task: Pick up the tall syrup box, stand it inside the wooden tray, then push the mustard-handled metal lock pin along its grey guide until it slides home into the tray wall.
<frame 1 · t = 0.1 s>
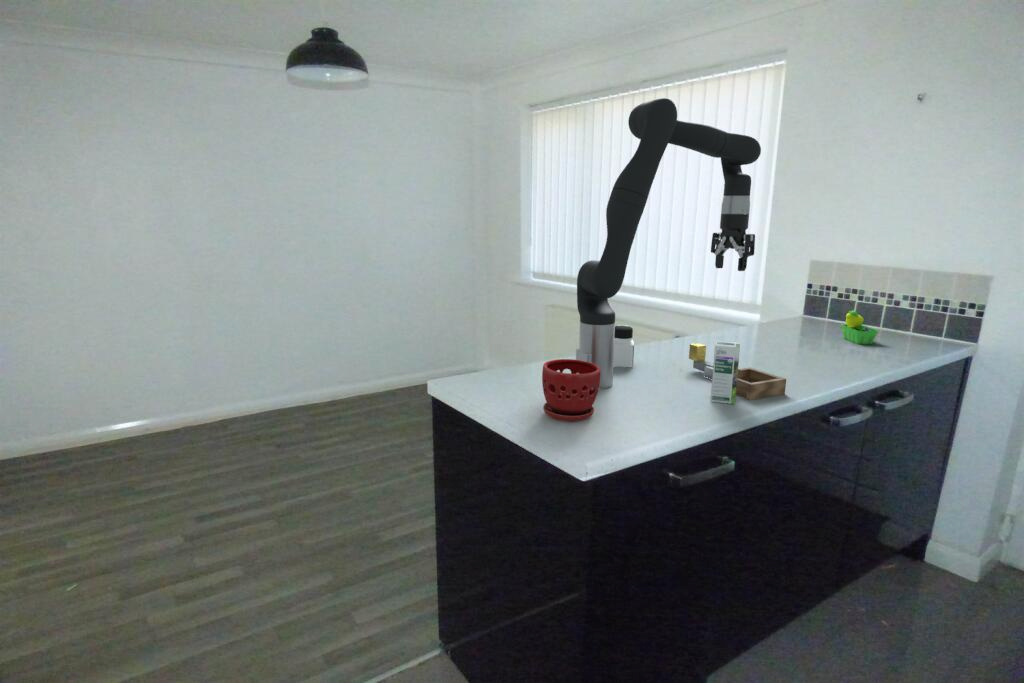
hand: (730, 269, 161), 29 cm above the counter, tool pointing down, fingers open, 8 cm apart
lock pin: (706, 359, 159), point 4 cm above the counter, slide at 6.0 cm
wooden tray: (749, 390, 145), on the counter
medicine bottle: (621, 365, 170), on the counter
fruit basket: (855, 341, 200), on the counter
syrup box: (722, 400, 138), on the counter
pin guide: (721, 380, 154), on the counter
plant pot: (570, 416, 127), on the counter
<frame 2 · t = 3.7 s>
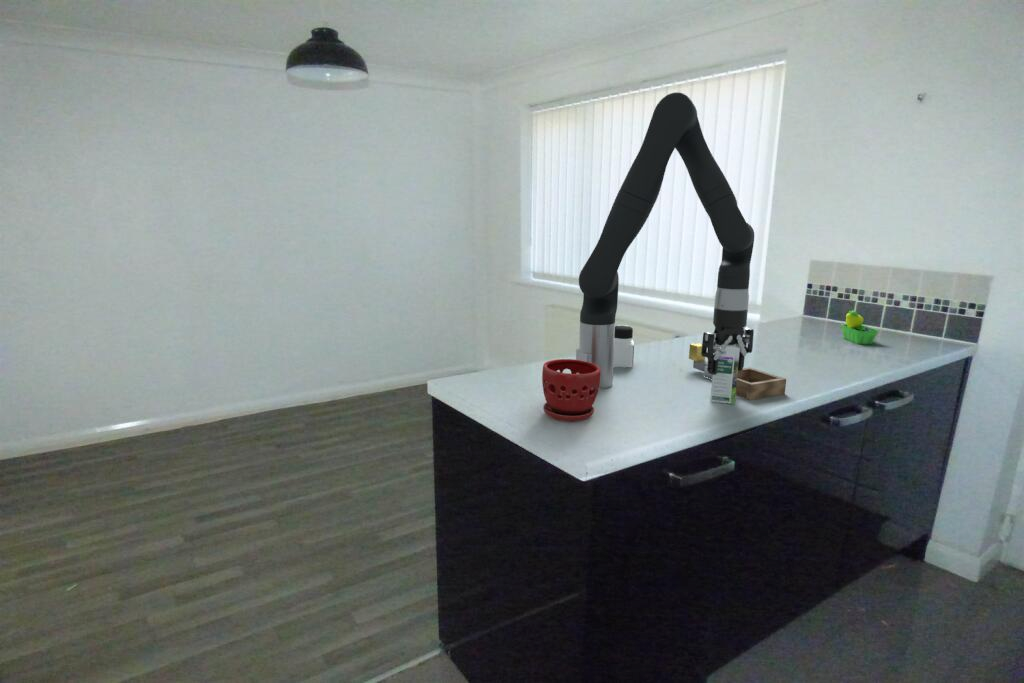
hand: (725, 371, 136), 7 cm above the counter, tool pointing down, fingers closed on syrup box, 8 cm apart
syrup box: (722, 400, 138), on the counter, touching gripper
everything else where it was.
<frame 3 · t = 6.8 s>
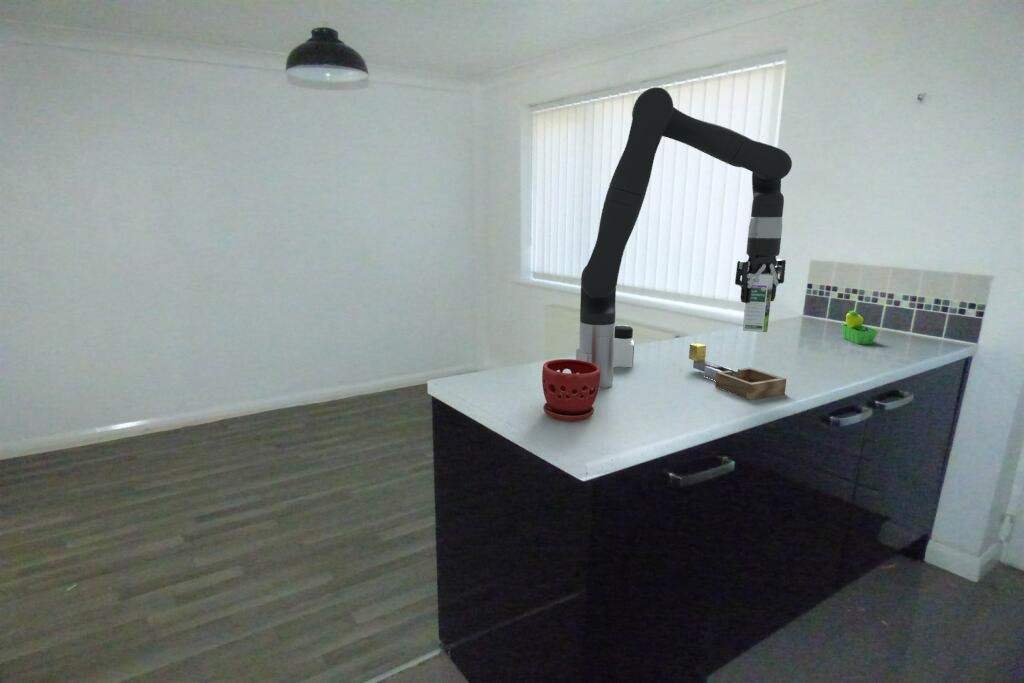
hand: (757, 301, 140), 23 cm above the counter, tool pointing down, fingers closed on syrup box, 8 cm apart
syrup box: (754, 330, 141), point 16 cm above the counter, touching gripper
everything else where it was.
when the fingers open (8 cm above the counter, at t = 10.2 s): syrup box drops 1 cm, resting in wooden tray.
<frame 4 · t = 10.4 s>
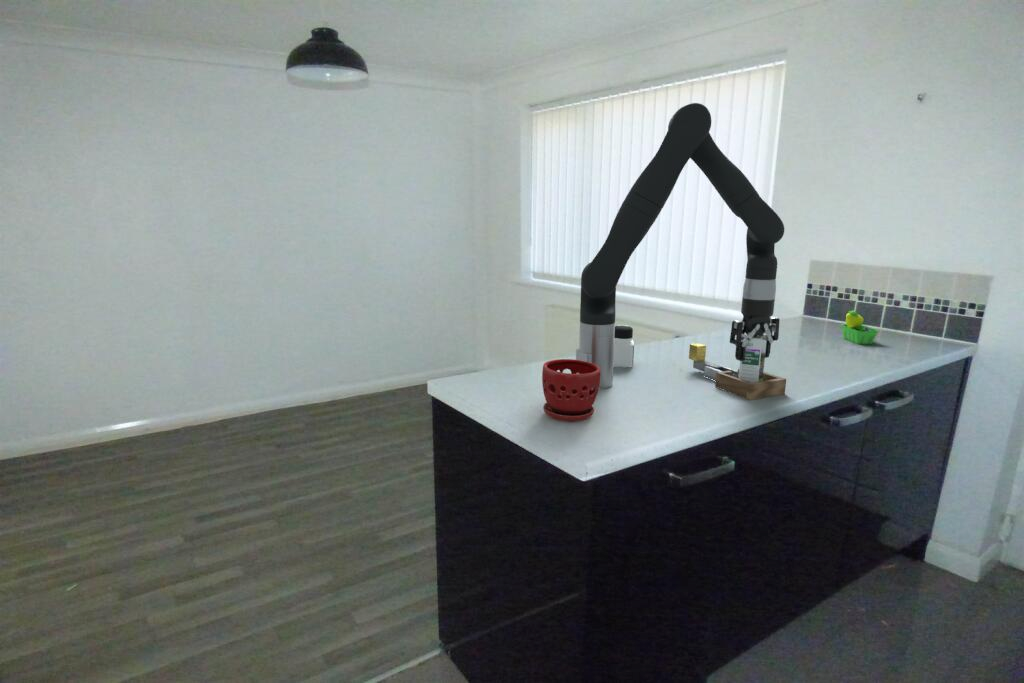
hand: (752, 358, 143), 9 cm above the counter, tool pointing down, fingers open, 8 cm apart
syrup box: (748, 391, 145), resting in wooden tray
everything else where it was.
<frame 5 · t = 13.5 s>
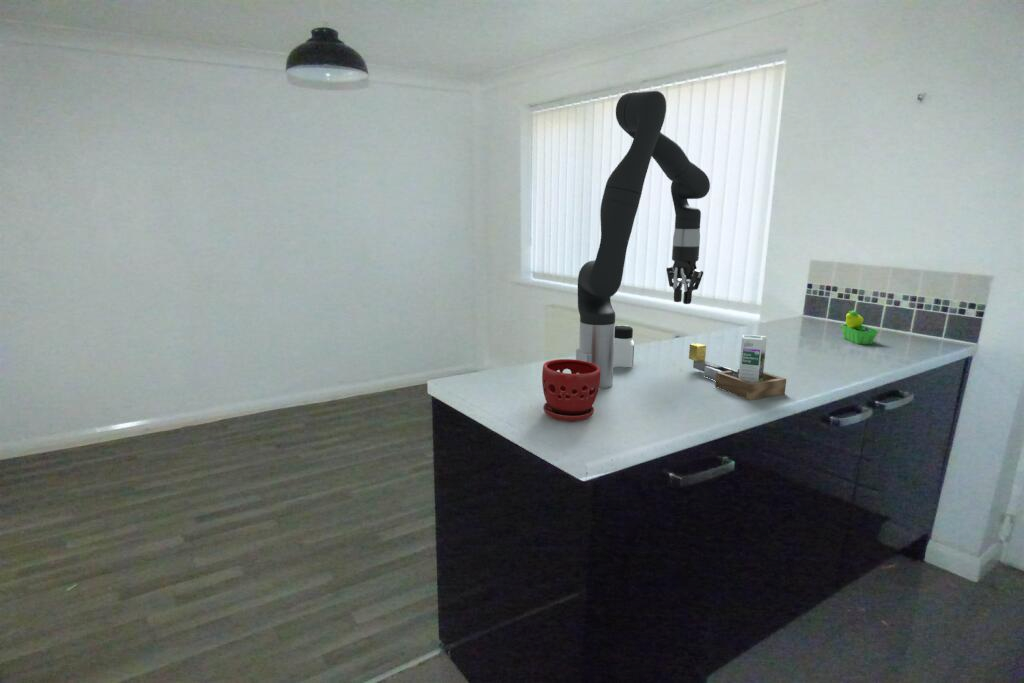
hand: (682, 302, 166), 19 cm above the counter, tool pointing down, fingers open, 3 cm apart
nothing on the counter moved.
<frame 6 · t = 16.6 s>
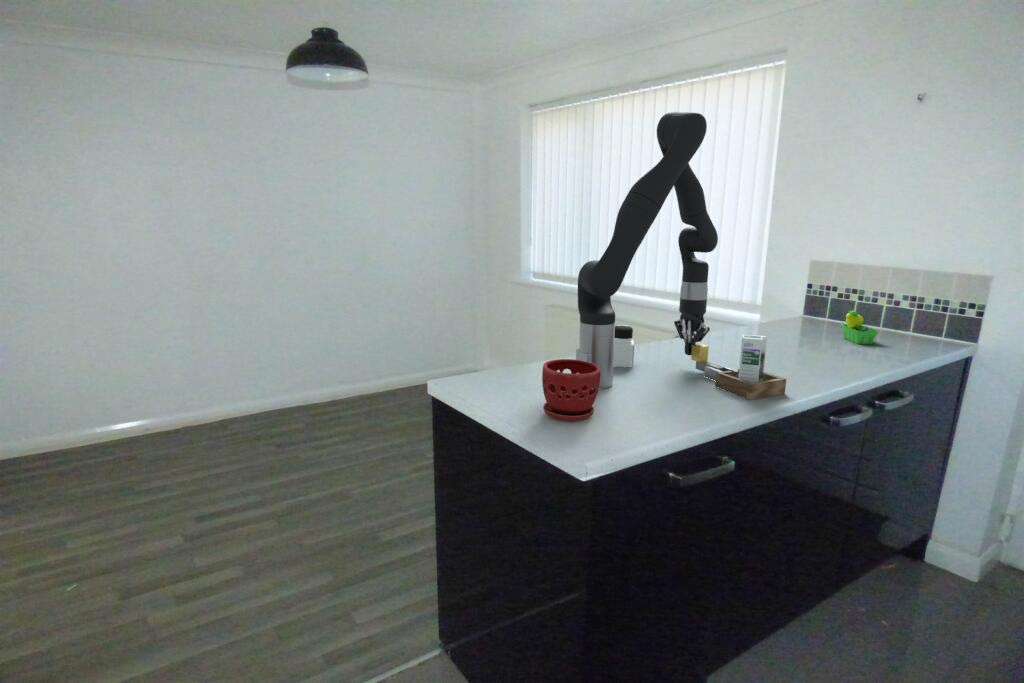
hand: (689, 354, 165), 4 cm above the counter, tool pointing down, fingers closed
lock pin: (708, 359, 158), point 4 cm above the counter, slide at 5.0 cm, touching gripper
everything else where it was.
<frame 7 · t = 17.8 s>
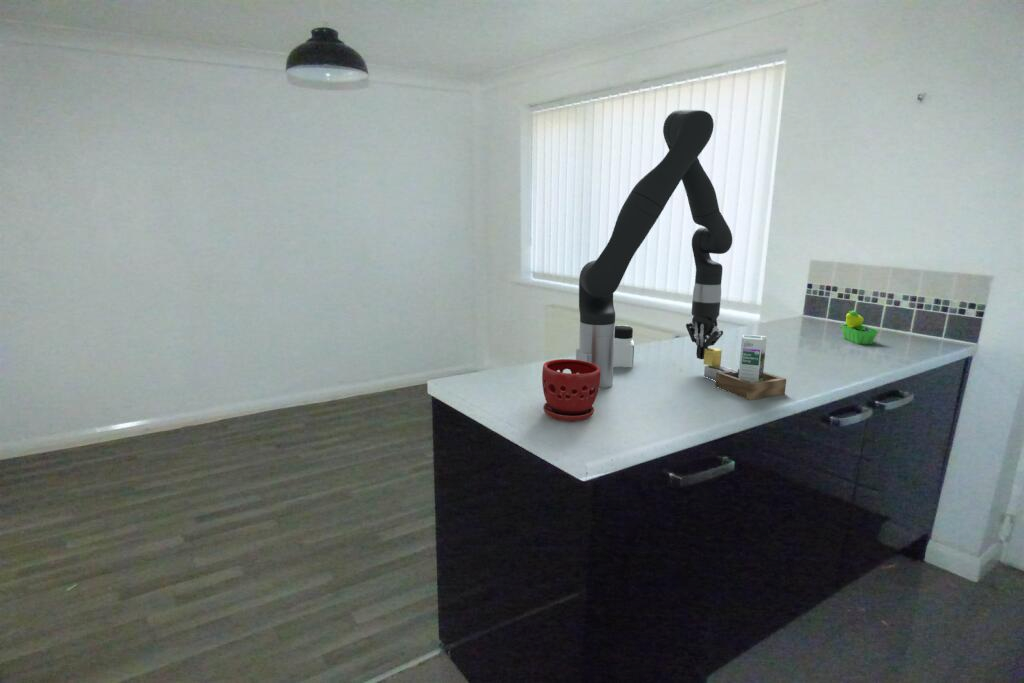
hand: (701, 358, 160), 4 cm above the counter, tool pointing down, fingers closed
lock pin: (721, 364, 153), point 4 cm above the counter, slide at -0.1 cm, touching gripper
everything else where it was.
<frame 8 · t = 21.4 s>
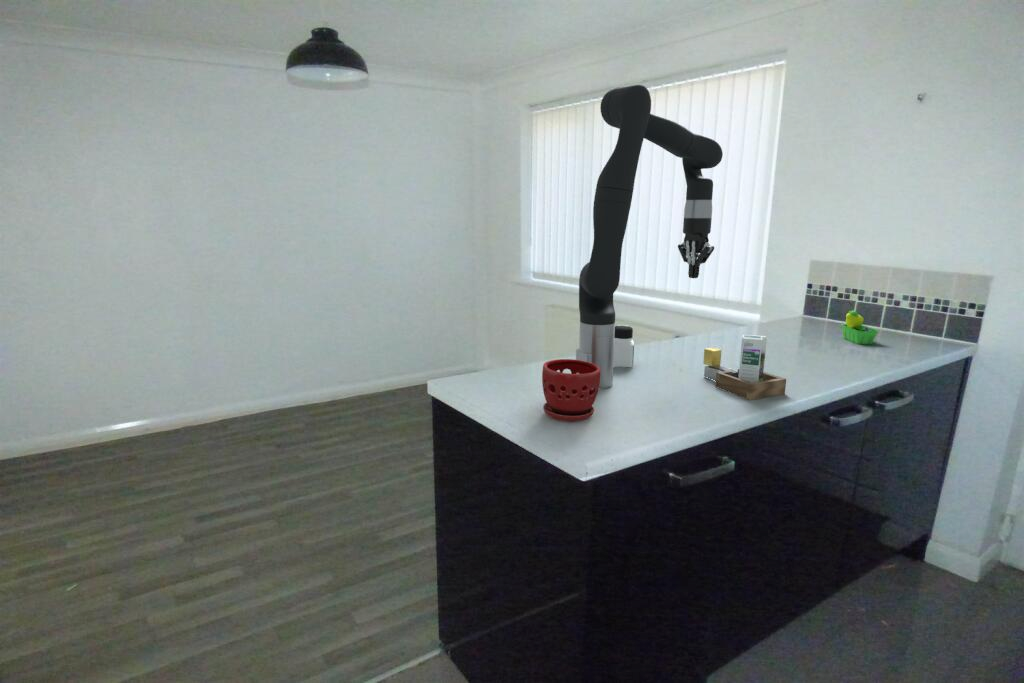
hand: (693, 277, 160), 27 cm above the counter, tool pointing down, fingers closed
lock pin: (721, 364, 153), point 4 cm above the counter, slide at 0.0 cm
everything else where it was.
at the end: syrup box inside the target area on the wooden tray (0.1 cm from its centre), point 0.0 cm above the wooden tray's base; syrup box tilted 0°; lock pin slide at 0.0 cm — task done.
